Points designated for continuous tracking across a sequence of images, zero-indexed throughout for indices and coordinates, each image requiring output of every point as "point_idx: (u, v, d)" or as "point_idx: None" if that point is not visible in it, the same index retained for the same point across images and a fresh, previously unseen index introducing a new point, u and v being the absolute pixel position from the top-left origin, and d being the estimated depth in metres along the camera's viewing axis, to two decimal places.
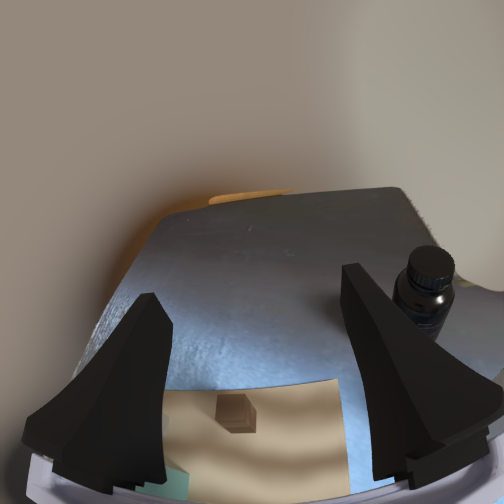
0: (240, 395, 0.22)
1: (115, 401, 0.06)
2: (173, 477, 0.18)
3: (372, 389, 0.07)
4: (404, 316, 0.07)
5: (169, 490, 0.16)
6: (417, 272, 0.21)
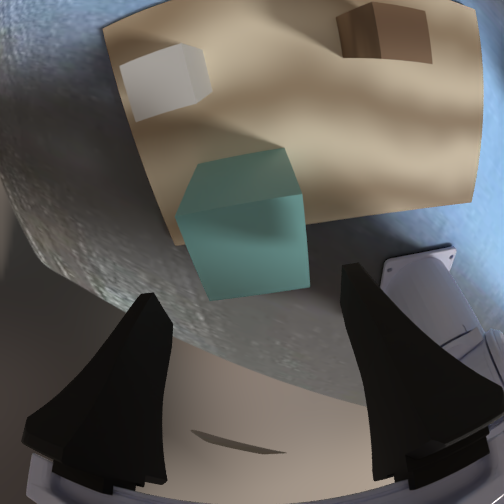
0: (418, 12, 0.06)
1: (115, 401, 0.06)
2: None
3: (372, 389, 0.07)
4: (404, 316, 0.07)
5: None
6: None
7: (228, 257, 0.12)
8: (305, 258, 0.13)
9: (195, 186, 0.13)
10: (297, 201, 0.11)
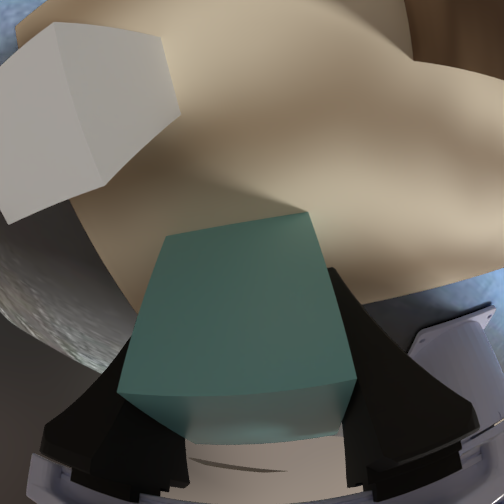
0: None
1: None
2: None
3: None
4: (373, 323, 0.07)
5: None
6: None
7: (216, 427, 0.07)
8: (337, 421, 0.07)
9: (154, 306, 0.07)
10: (344, 386, 0.05)
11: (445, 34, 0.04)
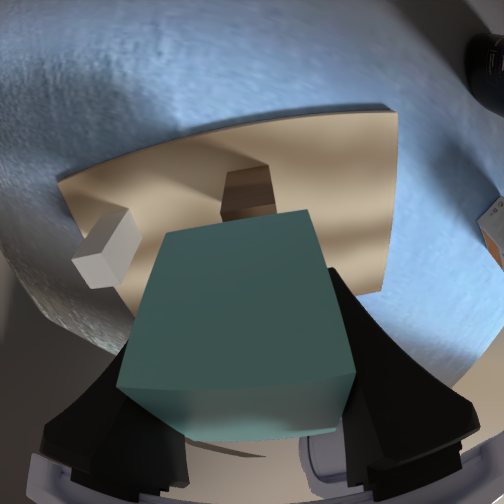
0: (268, 207, 0.13)
1: None
2: None
3: None
4: (373, 323, 0.07)
5: None
6: None
7: (215, 423, 0.07)
8: (336, 418, 0.07)
9: (154, 301, 0.07)
10: (343, 380, 0.05)
11: None
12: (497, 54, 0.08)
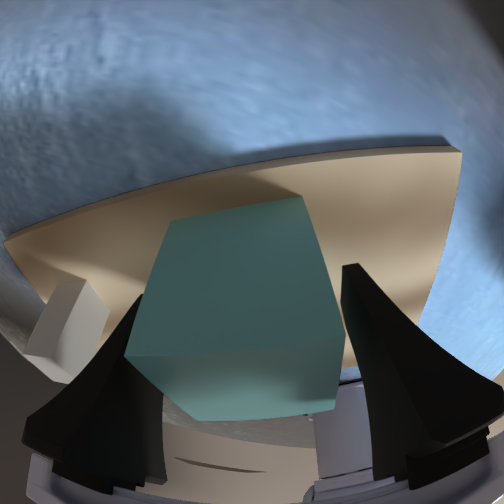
0: None
1: (115, 401, 0.06)
2: None
3: (372, 389, 0.07)
4: (404, 316, 0.07)
5: None
6: None
7: (217, 396, 0.07)
8: (333, 391, 0.07)
9: (160, 279, 0.08)
10: (335, 344, 0.06)
11: None
12: None
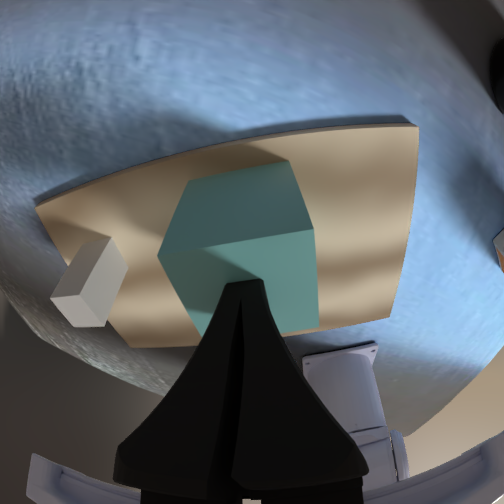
0: None
1: (232, 406, 0.06)
2: None
3: None
4: (277, 340, 0.07)
5: None
6: None
7: None
8: (315, 299, 0.10)
9: (183, 212, 0.11)
10: (307, 237, 0.09)
11: None
12: None
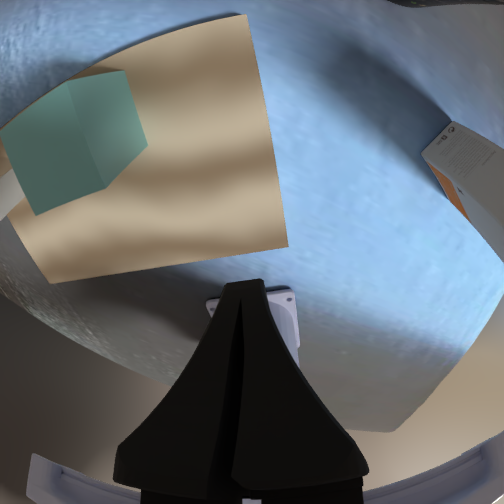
0: None
1: (232, 406, 0.06)
2: (101, 89, 0.10)
3: None
4: (277, 340, 0.07)
5: (105, 117, 0.11)
6: None
7: (32, 162, 0.09)
8: (87, 150, 0.09)
9: None
10: (64, 89, 0.08)
11: None
12: None
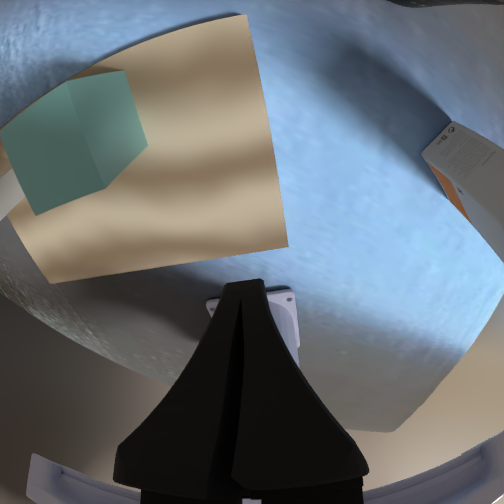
0: None
1: (232, 406, 0.06)
2: (101, 89, 0.10)
3: None
4: (277, 340, 0.07)
5: (105, 117, 0.11)
6: None
7: (32, 162, 0.09)
8: (87, 150, 0.09)
9: None
10: (64, 89, 0.08)
11: None
12: None
